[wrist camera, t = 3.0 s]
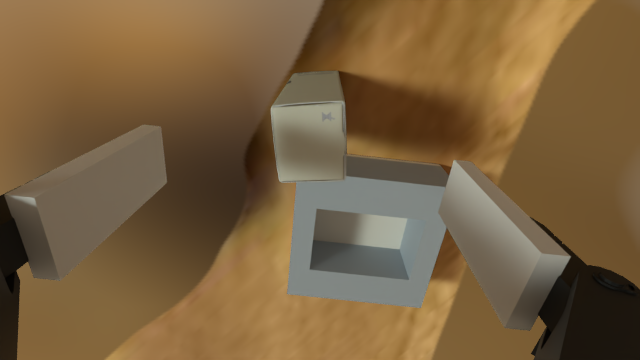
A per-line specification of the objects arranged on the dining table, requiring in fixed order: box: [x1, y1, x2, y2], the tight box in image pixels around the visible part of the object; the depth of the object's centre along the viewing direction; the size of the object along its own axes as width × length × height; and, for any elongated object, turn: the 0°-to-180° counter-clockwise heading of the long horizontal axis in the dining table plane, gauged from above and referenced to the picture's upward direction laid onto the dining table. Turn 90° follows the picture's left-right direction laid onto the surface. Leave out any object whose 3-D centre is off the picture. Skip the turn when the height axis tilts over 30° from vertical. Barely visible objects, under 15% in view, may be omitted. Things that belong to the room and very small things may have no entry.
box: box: [271, 71, 347, 183], centre depth 25 cm, size 5×4×13 cm
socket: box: [287, 154, 449, 308], centre depth 33 cm, size 14×14×6 cm
